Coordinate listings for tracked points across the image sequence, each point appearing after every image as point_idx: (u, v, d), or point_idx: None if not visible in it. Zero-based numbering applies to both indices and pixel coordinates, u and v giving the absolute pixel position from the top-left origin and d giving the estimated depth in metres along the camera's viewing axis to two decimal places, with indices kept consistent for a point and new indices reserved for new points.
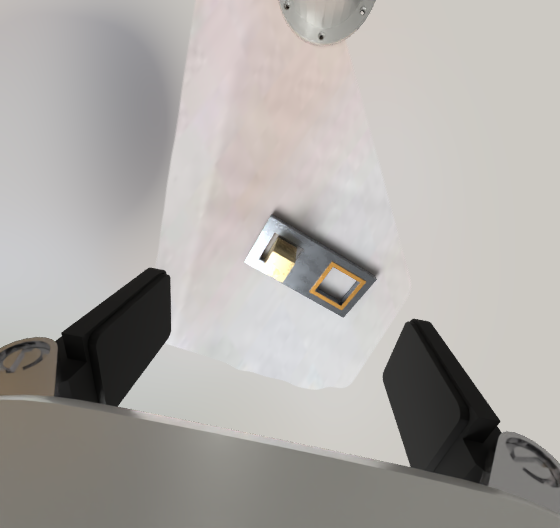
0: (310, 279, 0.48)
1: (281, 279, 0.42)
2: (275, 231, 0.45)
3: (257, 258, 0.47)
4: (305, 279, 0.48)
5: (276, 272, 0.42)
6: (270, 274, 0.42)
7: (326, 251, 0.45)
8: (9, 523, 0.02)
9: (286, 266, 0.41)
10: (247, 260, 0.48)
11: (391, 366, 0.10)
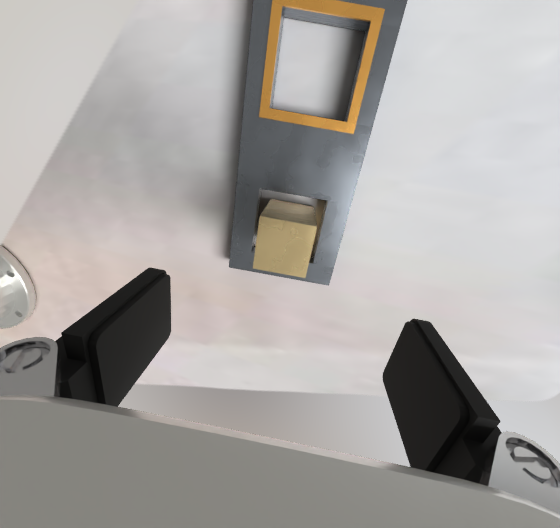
0: (320, 145, 0.21)
1: (309, 231, 0.18)
2: (250, 251, 0.25)
3: (312, 265, 0.25)
4: (324, 157, 0.21)
5: (295, 248, 0.18)
6: (306, 257, 0.19)
7: (243, 141, 0.21)
8: (9, 523, 0.02)
9: (272, 231, 0.18)
10: (323, 281, 0.25)
11: (390, 366, 0.10)
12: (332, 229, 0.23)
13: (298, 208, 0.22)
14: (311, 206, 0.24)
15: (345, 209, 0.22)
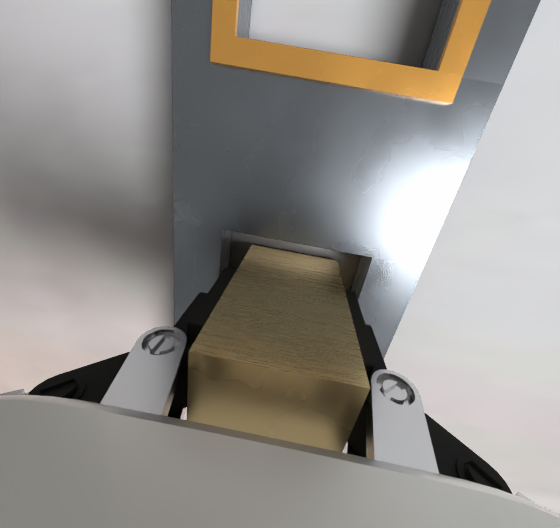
0: (363, 134, 0.08)
1: (346, 397, 0.06)
2: None
3: None
4: (371, 162, 0.09)
5: (301, 430, 0.06)
6: None
7: (179, 124, 0.09)
8: (9, 523, 0.02)
9: (231, 389, 0.06)
10: None
11: None
12: (378, 312, 0.11)
13: (307, 275, 0.10)
14: (333, 261, 0.12)
15: (410, 276, 0.10)
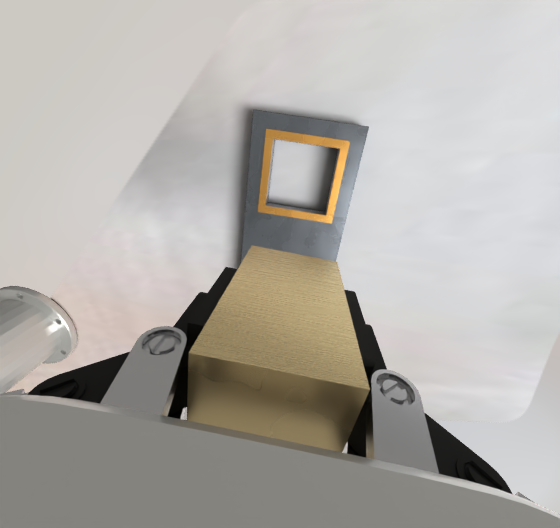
0: (306, 230, 0.26)
1: (345, 398, 0.06)
2: None
3: None
4: (310, 238, 0.27)
5: (301, 431, 0.06)
6: None
7: (246, 227, 0.27)
8: (9, 523, 0.02)
9: (231, 390, 0.06)
10: None
11: None
12: None
13: (307, 276, 0.10)
14: (333, 262, 0.12)
15: None
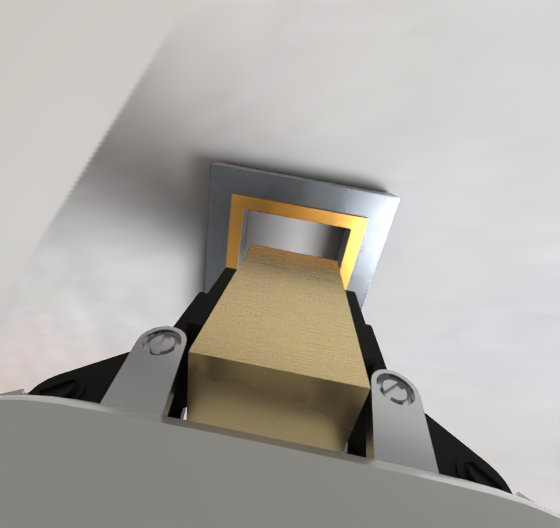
0: None
1: (346, 397, 0.06)
2: None
3: None
4: None
5: (301, 430, 0.06)
6: None
7: None
8: (9, 523, 0.02)
9: (231, 389, 0.06)
10: None
11: None
12: None
13: (307, 275, 0.10)
14: (333, 261, 0.12)
15: None
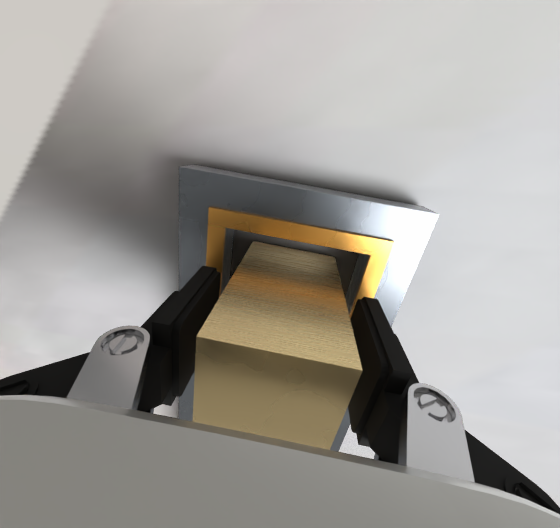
0: None
1: (340, 378, 0.06)
2: None
3: None
4: None
5: (299, 411, 0.07)
6: (327, 431, 0.07)
7: None
8: (9, 523, 0.02)
9: (235, 372, 0.07)
10: None
11: None
12: None
13: (306, 270, 0.11)
14: (331, 257, 0.12)
15: (334, 446, 0.16)
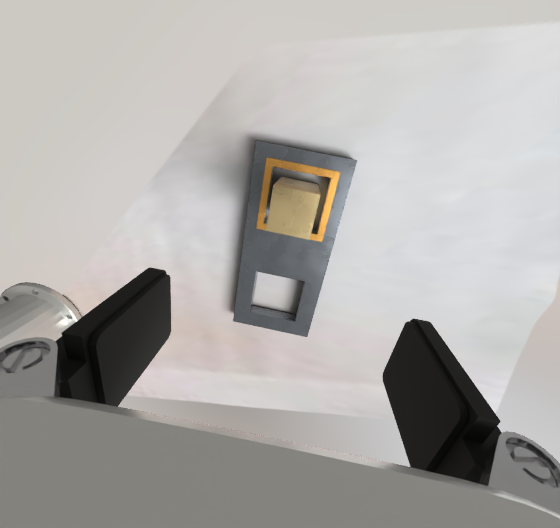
0: (299, 247, 0.29)
1: (314, 198, 0.22)
2: (248, 311, 0.34)
3: (294, 323, 0.34)
4: (302, 254, 0.30)
5: (302, 213, 0.22)
6: (311, 221, 0.22)
7: (245, 241, 0.30)
8: (9, 523, 0.02)
9: (283, 198, 0.22)
10: (303, 334, 0.34)
11: (390, 366, 0.10)
12: (308, 300, 0.32)
13: (305, 184, 0.26)
14: (316, 184, 0.28)
15: (317, 287, 0.31)
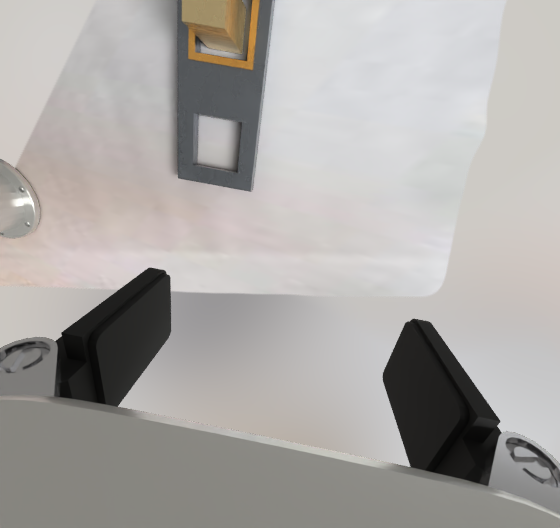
0: (232, 79, 0.30)
1: None
2: (192, 165, 0.34)
3: (237, 175, 0.34)
4: (235, 88, 0.30)
5: None
6: (223, 4, 0.23)
7: (180, 77, 0.30)
8: (9, 523, 0.02)
9: None
10: (246, 188, 0.35)
11: (391, 366, 0.10)
12: (247, 144, 0.33)
13: None
14: None
15: (254, 128, 0.32)
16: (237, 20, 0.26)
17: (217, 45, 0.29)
